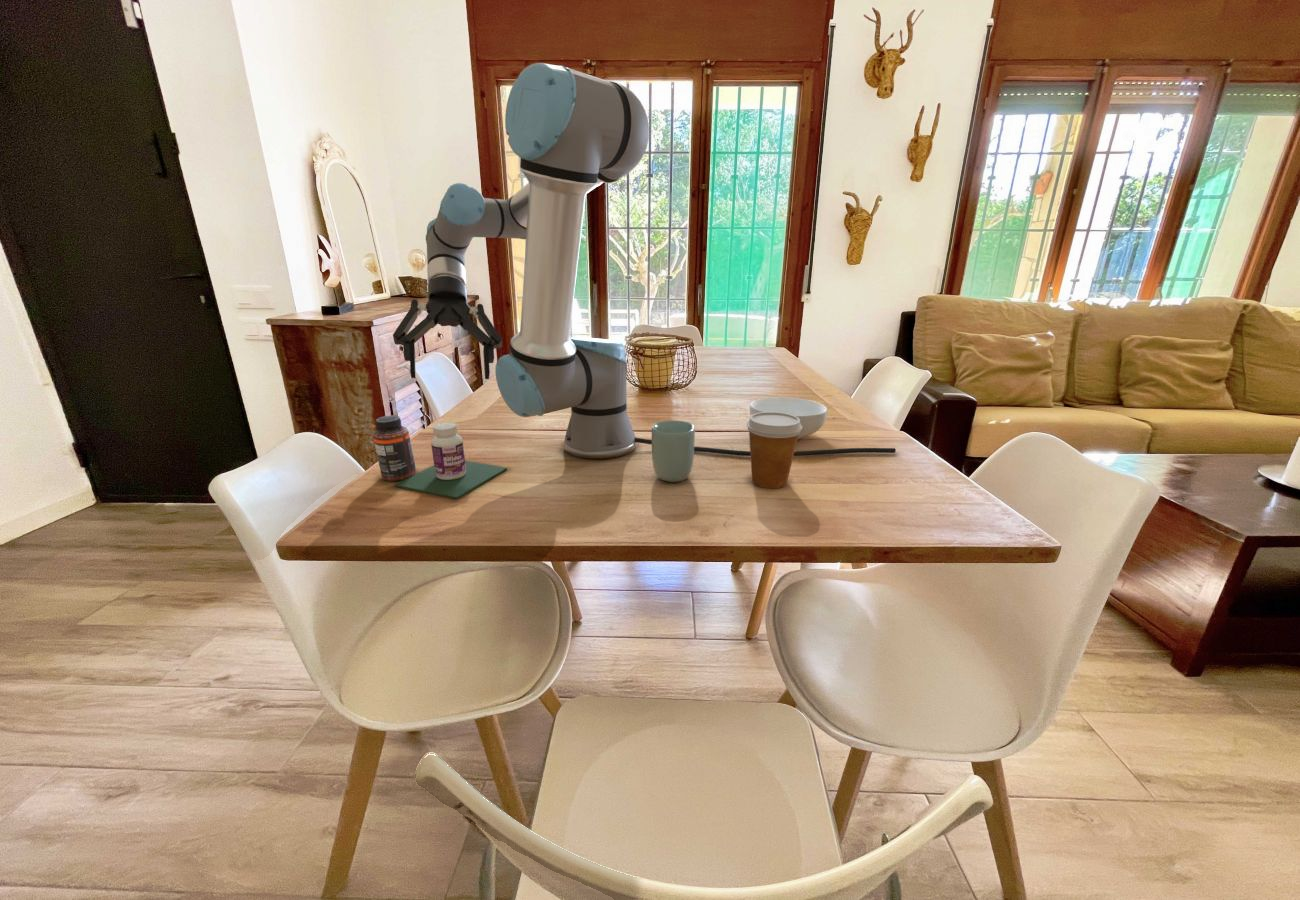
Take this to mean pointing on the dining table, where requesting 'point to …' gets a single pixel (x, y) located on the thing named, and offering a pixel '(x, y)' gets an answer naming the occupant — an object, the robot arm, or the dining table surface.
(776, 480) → the disposable coffee cup
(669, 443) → the cup
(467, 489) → the green mat
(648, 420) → the dining table surface
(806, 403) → the cereal bowl
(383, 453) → the supplement bottle
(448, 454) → the pill bottle
